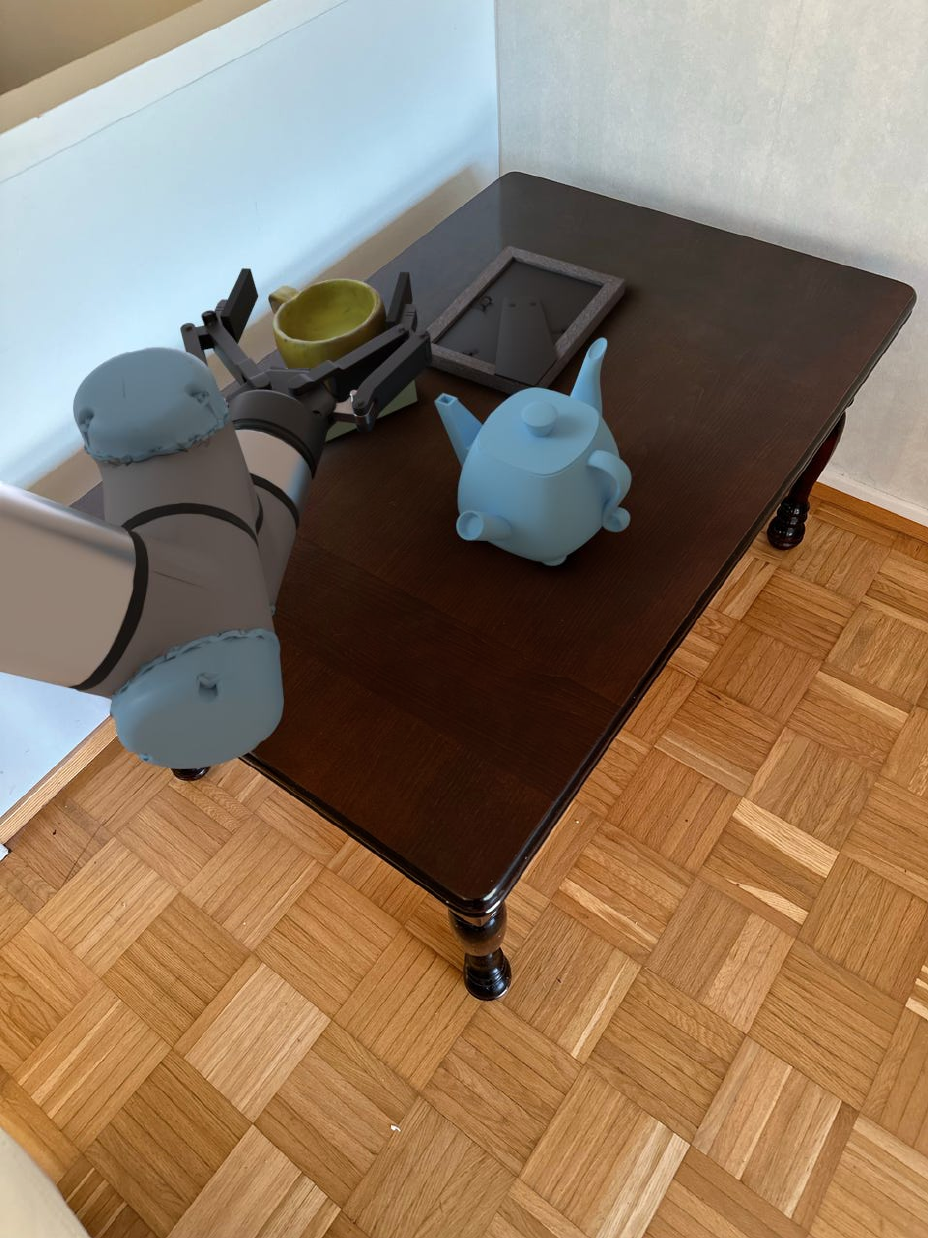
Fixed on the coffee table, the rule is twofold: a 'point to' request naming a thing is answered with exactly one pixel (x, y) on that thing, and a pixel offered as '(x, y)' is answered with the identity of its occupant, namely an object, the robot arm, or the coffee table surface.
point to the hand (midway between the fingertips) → (327, 283)
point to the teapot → (539, 468)
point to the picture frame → (521, 320)
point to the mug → (325, 321)
